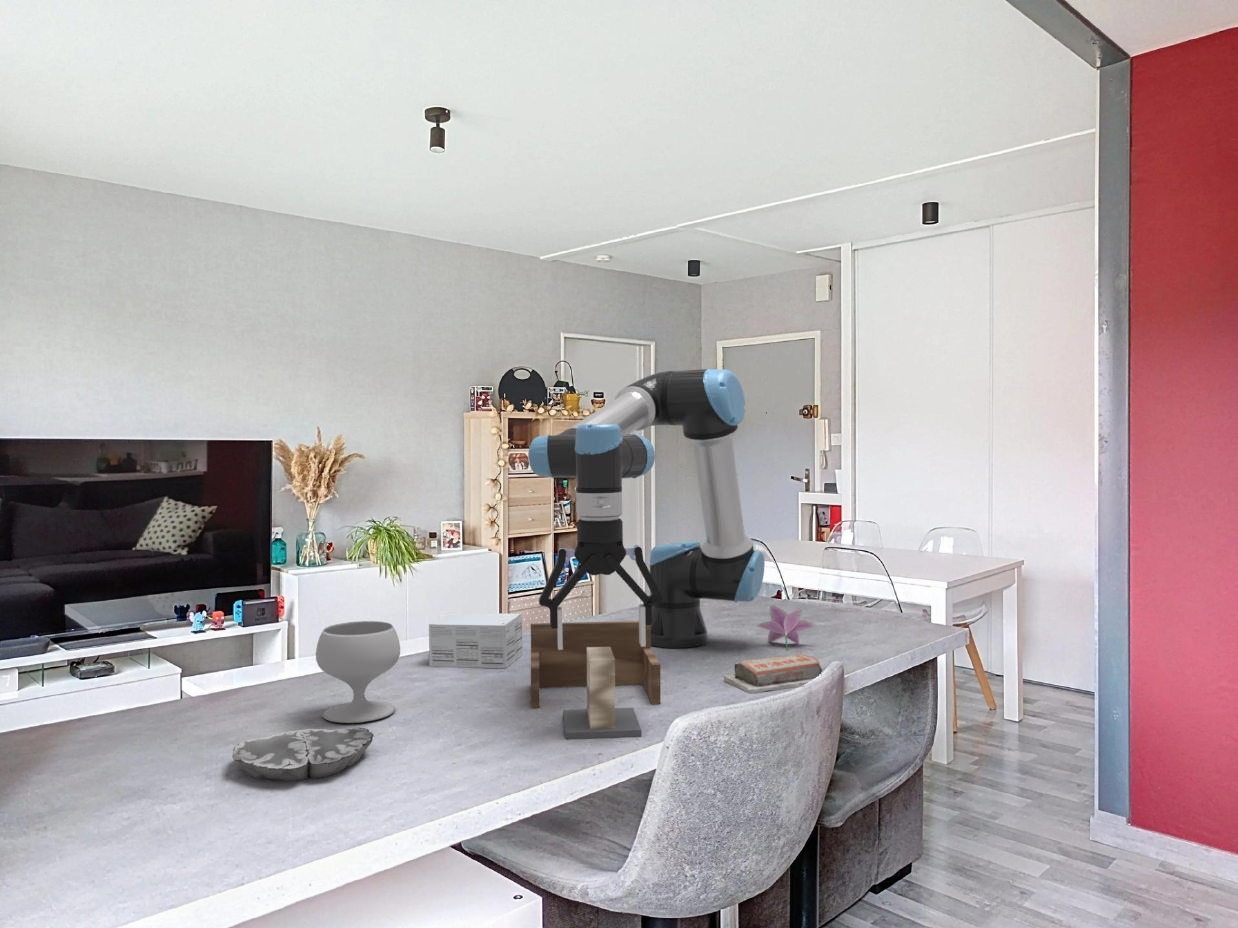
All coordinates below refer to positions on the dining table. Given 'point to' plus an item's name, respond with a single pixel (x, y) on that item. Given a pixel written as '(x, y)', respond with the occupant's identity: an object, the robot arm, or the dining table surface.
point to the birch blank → (600, 687)
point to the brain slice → (302, 753)
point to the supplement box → (475, 640)
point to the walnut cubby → (572, 661)
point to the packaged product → (774, 673)
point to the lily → (785, 625)
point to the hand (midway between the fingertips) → (601, 646)
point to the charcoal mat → (580, 728)
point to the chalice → (358, 665)
